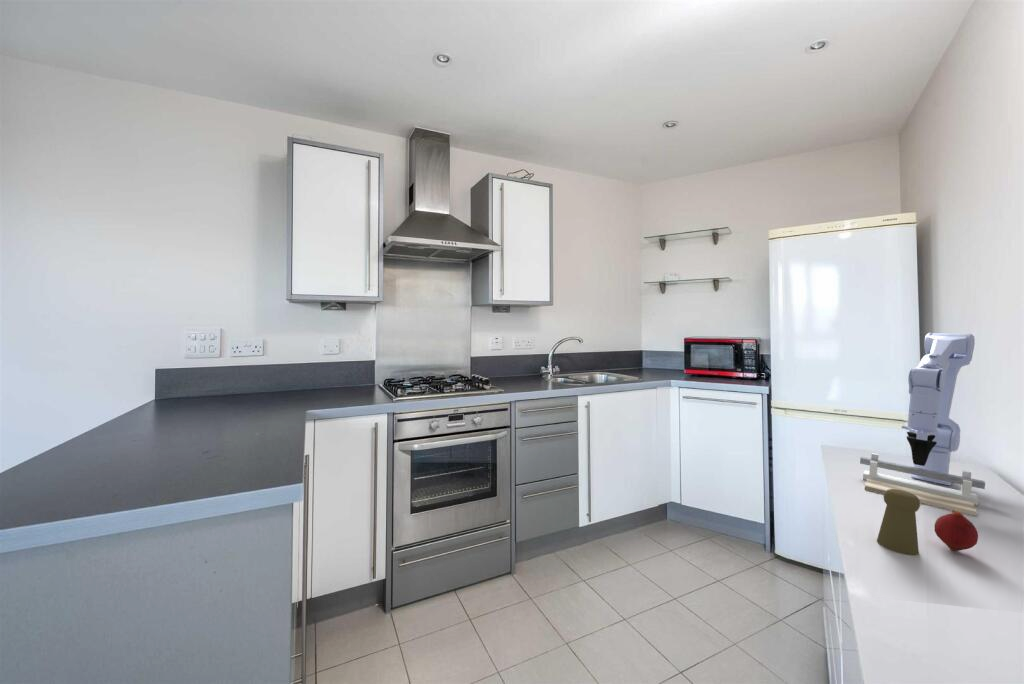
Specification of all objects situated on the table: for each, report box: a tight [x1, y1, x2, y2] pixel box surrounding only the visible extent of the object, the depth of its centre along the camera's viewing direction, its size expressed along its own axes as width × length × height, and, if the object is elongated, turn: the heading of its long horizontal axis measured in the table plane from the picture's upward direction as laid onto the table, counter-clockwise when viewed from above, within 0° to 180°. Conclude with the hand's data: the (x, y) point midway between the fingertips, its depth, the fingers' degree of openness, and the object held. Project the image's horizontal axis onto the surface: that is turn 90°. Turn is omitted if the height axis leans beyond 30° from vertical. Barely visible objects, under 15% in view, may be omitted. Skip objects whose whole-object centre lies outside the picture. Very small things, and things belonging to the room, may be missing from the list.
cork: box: [876, 489, 921, 556], centre depth 81 cm, size 6×6×11 cm
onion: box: [934, 509, 979, 552], centre depth 81 cm, size 6×6×8 cm
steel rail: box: [859, 456, 986, 490], centre depth 113 cm, size 2×24×2 cm, turn 46°
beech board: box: [864, 479, 978, 517], centre depth 107 cm, size 8×20×1 cm, turn 46°
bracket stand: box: [862, 452, 979, 506], centre depth 113 cm, size 5×22×7 cm, turn 46°
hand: (918, 461), depth 113 cm, fingers open, 7 cm apart
